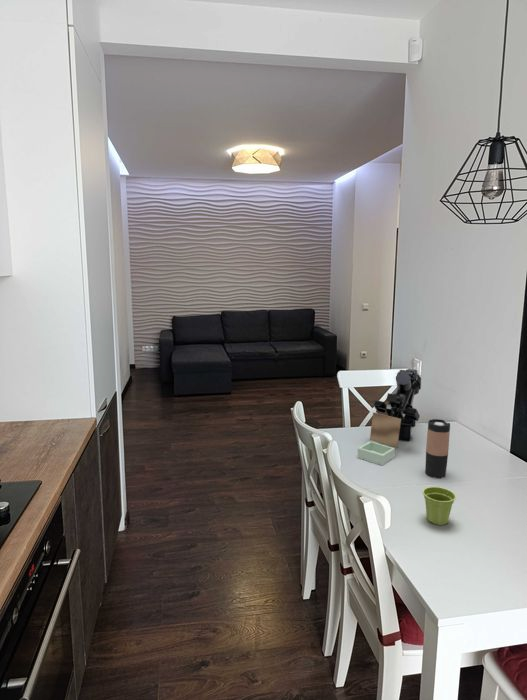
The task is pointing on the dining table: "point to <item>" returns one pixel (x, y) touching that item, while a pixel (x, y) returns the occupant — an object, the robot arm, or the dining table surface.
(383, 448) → the pale green open box
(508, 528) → the dining table surface
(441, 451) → the travel mug
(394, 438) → the lid
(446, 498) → the plant pot
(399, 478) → the dining table surface
